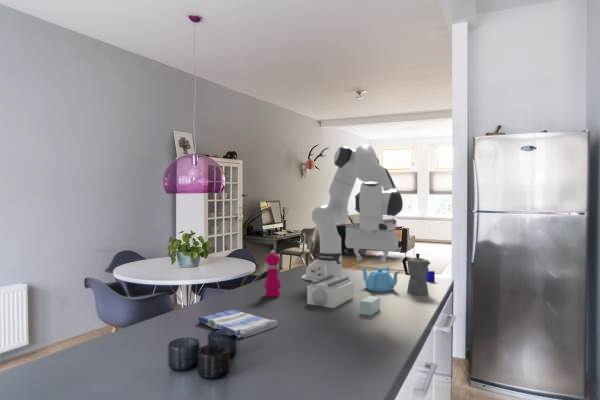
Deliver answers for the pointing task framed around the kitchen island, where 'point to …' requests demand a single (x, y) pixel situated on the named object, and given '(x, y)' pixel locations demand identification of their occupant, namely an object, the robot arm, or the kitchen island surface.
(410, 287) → the coffeepot
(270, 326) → the dish towel
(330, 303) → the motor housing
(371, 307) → the pale green block
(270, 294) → the pepper mill
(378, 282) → the teapot
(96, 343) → the kitchen island surface
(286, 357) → the kitchen island surface
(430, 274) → the cable clip
